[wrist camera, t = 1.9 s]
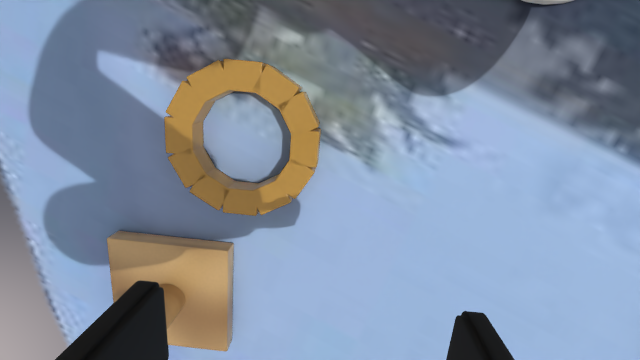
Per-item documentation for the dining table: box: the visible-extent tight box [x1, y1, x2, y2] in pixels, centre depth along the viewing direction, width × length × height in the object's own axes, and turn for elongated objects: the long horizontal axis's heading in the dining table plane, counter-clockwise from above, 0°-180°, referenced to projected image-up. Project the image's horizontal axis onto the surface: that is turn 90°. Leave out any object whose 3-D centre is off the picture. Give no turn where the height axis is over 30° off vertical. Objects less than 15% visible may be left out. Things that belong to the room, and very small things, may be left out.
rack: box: [107, 231, 234, 351], centre depth 24 cm, size 10×10×10 cm
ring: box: [164, 59, 321, 216], centre depth 24 cm, size 11×11×2 cm
